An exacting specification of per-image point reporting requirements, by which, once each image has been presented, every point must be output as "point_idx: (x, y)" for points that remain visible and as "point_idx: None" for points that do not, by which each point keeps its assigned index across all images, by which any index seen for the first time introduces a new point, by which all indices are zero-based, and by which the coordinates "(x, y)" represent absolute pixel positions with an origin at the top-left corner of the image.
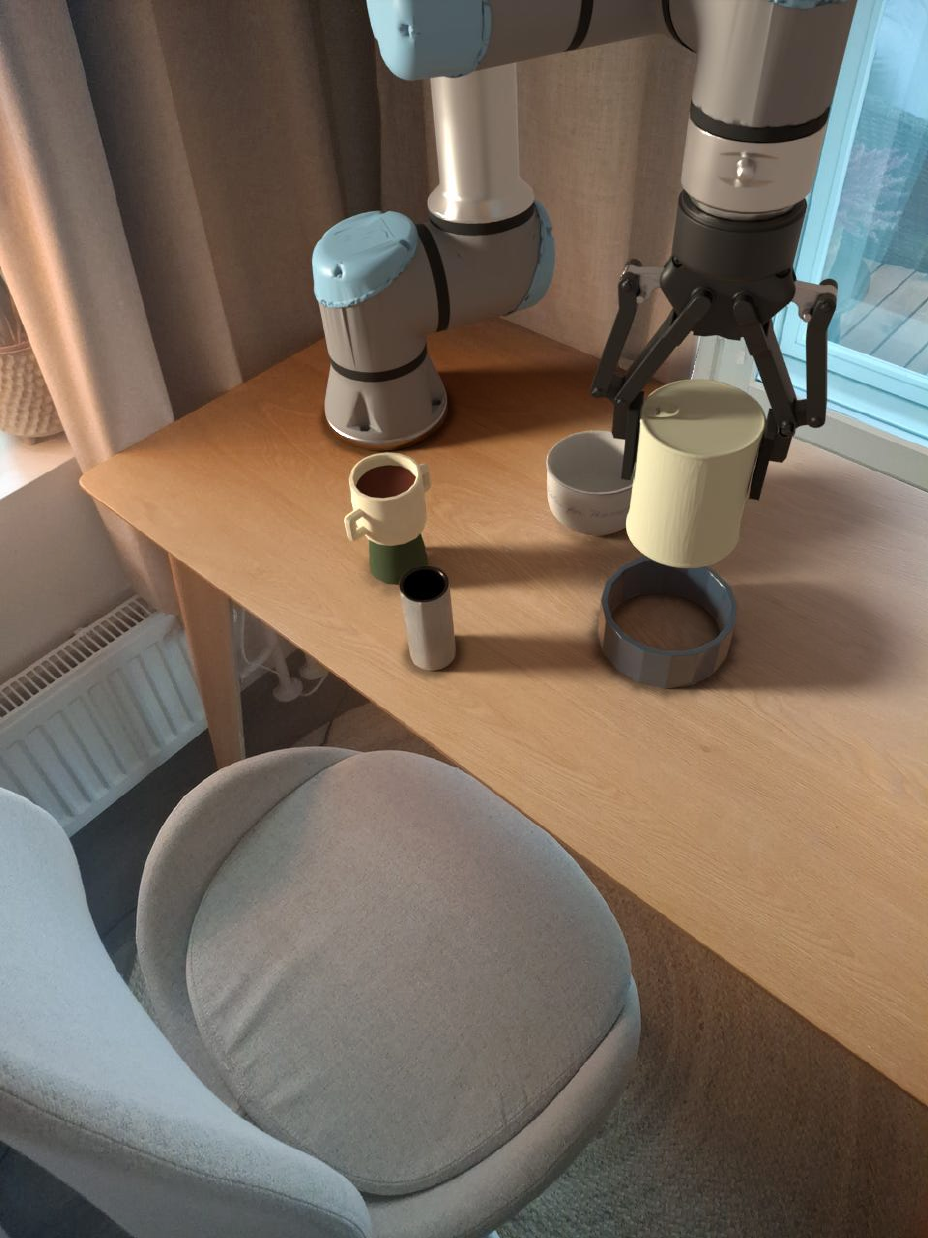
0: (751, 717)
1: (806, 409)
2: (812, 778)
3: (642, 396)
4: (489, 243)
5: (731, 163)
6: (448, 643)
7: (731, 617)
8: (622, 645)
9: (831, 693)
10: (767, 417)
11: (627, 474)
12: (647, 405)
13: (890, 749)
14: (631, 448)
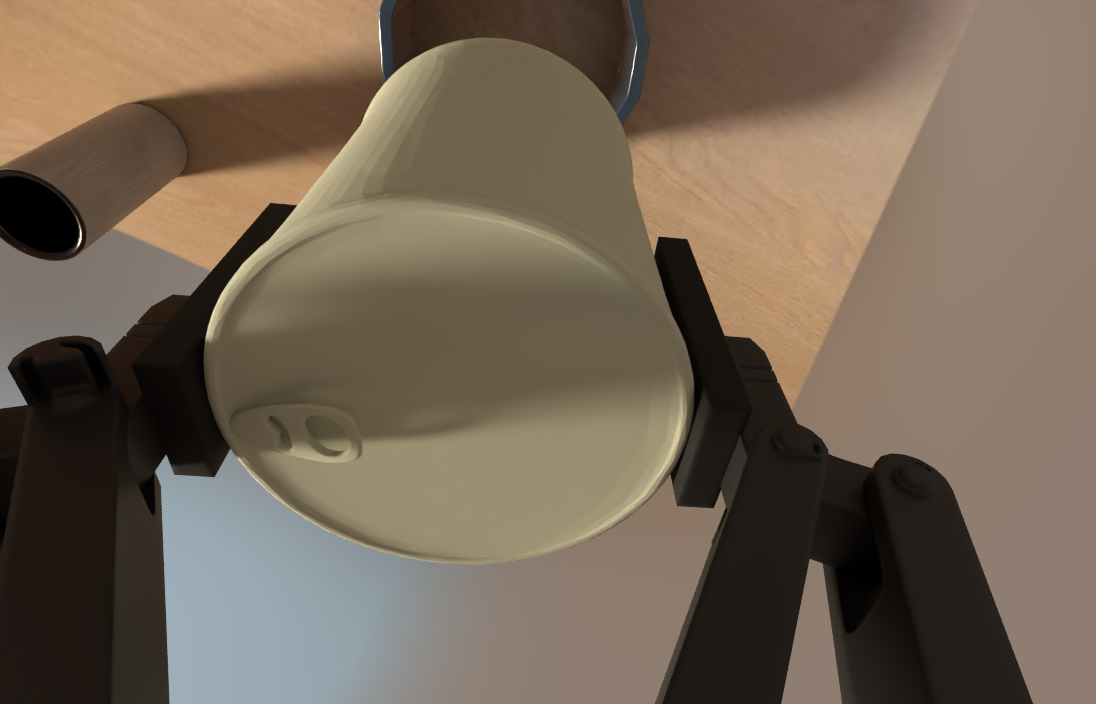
0: (660, 183)
1: (835, 561)
2: (728, 263)
3: (184, 397)
4: None
5: None
6: (161, 181)
7: (634, 78)
8: None
9: (792, 119)
10: (698, 420)
11: None
12: (228, 393)
13: (847, 205)
14: None
